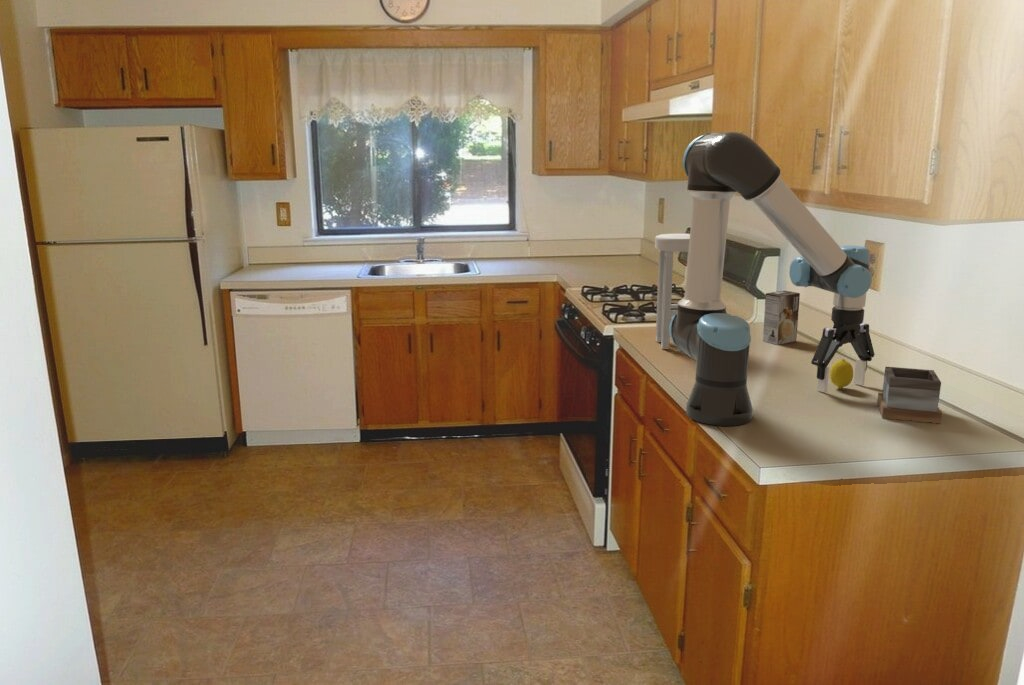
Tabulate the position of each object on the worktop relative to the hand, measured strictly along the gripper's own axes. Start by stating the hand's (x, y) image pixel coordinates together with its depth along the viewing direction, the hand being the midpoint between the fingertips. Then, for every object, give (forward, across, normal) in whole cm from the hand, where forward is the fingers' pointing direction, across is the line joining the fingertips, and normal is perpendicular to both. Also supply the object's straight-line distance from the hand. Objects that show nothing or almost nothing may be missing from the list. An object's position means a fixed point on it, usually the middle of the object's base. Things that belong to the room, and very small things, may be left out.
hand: (840, 387), depth 198 cm
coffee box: (+1, -23, -45) cm, 51 cm away
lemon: (+1, 0, 0) cm, 1 cm away
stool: (0, +10, -57) cm, 57 cm away
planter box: (0, +1, +20) cm, 21 cm away
